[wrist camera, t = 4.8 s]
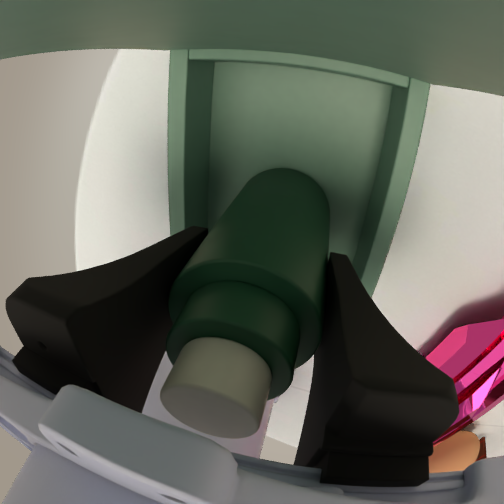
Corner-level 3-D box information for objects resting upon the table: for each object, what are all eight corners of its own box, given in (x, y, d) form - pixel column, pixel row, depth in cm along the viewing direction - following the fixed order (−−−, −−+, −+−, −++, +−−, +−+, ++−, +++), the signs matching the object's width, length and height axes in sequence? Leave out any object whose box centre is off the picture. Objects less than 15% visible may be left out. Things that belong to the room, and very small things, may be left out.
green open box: (358, 279, 18) (360, 325, 14) (199, 248, 19) (173, 286, 16) (407, 74, 11) (432, 74, 8) (206, 47, 13) (170, 41, 10)
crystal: (327, 476, 22) (584, 267, 8) (330, 425, 26) (531, 211, 12) (397, 481, 22) (615, 311, 8) (394, 436, 27) (579, 262, 13)
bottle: (235, 244, 17) (138, 425, 8) (240, 161, 15) (93, 321, 6) (321, 259, 16) (290, 467, 7) (337, 176, 14) (336, 384, 5)
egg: (490, 450, 21) (431, 488, 24) (469, 415, 25) (412, 454, 28) (486, 464, 17) (417, 505, 20) (462, 423, 22) (396, 466, 24)
